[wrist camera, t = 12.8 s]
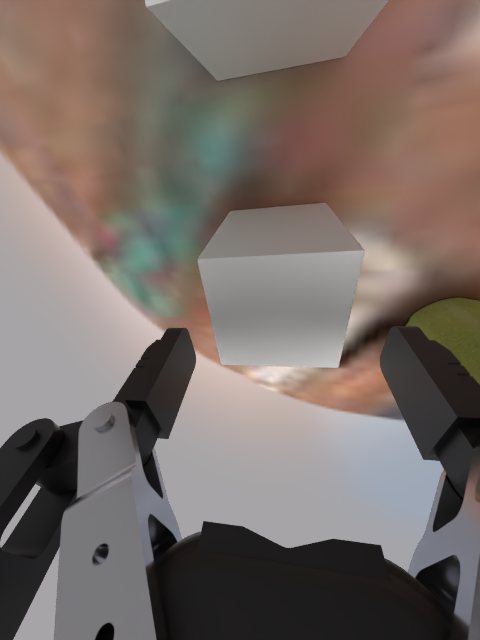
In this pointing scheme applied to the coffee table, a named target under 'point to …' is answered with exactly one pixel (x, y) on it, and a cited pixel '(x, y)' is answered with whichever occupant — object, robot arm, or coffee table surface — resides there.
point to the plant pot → (454, 329)
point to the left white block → (265, 31)
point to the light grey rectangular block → (281, 286)
